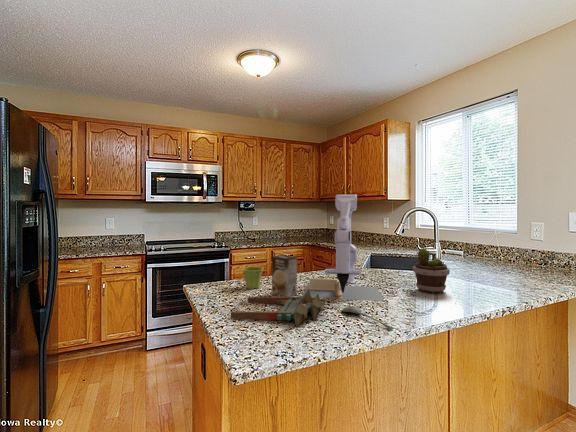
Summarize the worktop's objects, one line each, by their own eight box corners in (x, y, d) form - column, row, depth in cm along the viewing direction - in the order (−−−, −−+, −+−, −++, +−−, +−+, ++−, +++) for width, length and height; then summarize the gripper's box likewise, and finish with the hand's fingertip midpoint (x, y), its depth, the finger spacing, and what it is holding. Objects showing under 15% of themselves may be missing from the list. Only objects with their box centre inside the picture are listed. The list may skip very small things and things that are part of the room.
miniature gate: (251, 290, 127) (326, 289, 121) (252, 304, 127) (327, 303, 121) (225, 311, 100) (319, 311, 94) (226, 329, 100) (320, 329, 94)
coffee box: (270, 294, 133) (271, 256, 133) (280, 291, 138) (281, 254, 138) (287, 298, 127) (288, 258, 127) (297, 295, 132) (297, 256, 132)
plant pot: (259, 290, 139) (259, 271, 139) (239, 289, 142) (239, 269, 141) (266, 285, 148) (266, 267, 148) (247, 284, 151) (247, 266, 150)
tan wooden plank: (337, 289, 138) (337, 278, 138) (340, 289, 137) (340, 278, 137) (334, 297, 126) (334, 284, 126) (337, 297, 126) (337, 284, 126)
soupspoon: (351, 311, 115) (337, 315, 112) (351, 302, 115) (336, 305, 112) (398, 329, 96) (382, 334, 93) (398, 318, 96) (382, 323, 93)
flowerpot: (455, 291, 139) (456, 246, 139) (439, 297, 130) (439, 248, 129) (423, 285, 151) (423, 243, 150) (406, 290, 141) (406, 245, 140)
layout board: (306, 285, 149) (306, 273, 148) (376, 288, 144) (376, 275, 144) (302, 298, 127) (302, 284, 127) (384, 302, 122) (384, 287, 122)
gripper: (324, 260, 127) (324, 293, 128) (361, 261, 125) (361, 295, 126) (325, 257, 134) (325, 289, 135) (360, 258, 132) (360, 290, 133)
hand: (342, 291), depth 131 cm, fingers closed
